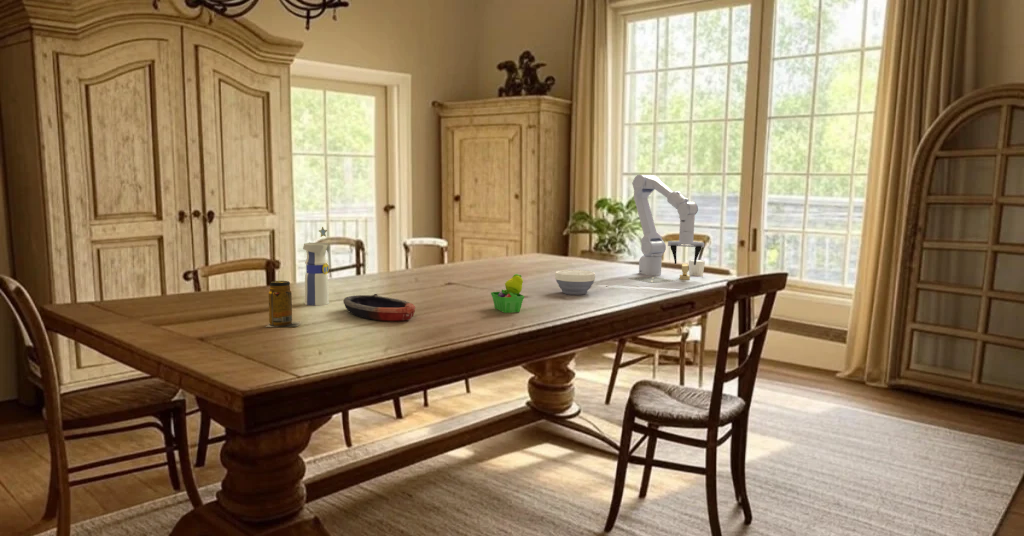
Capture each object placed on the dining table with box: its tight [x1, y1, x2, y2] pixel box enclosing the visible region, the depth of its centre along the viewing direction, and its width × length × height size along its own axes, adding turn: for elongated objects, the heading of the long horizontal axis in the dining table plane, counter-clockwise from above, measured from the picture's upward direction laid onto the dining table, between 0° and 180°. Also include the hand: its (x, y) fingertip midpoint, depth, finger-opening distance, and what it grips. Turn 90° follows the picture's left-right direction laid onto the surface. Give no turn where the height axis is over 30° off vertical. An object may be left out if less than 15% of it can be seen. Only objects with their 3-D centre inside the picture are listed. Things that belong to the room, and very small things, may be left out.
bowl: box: [554, 269, 596, 296], centre depth 259 cm, size 14×14×8 cm
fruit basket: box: [490, 273, 525, 314], centre depth 224 cm, size 11×9×11 cm
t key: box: [679, 263, 691, 281], centre depth 295 cm, size 9×4×6 cm, turn 167°
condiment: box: [265, 280, 303, 328], centre depth 196 cm, size 7×8×12 cm
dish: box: [343, 293, 416, 322], centre depth 212 cm, size 16×31×5 cm, turn 43°
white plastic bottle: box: [302, 226, 330, 307], centre depth 229 cm, size 8×9×25 cm
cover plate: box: [628, 276, 677, 284], centre depth 291 cm, size 14×14×1 cm
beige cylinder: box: [688, 259, 706, 277], centre depth 311 cm, size 7×7×7 cm
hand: (685, 264), depth 295 cm, fingers open, 7 cm apart
